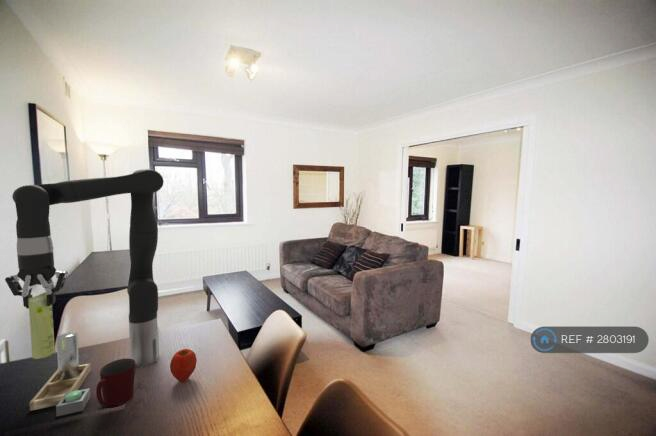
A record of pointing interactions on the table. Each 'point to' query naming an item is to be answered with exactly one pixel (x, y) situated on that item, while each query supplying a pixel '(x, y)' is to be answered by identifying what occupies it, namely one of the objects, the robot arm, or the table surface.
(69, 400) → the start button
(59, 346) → the seated billet
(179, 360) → the apple
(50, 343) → the tube
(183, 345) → the table surface
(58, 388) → the wooden compartment tray
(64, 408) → the grey square dish
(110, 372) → the mug
